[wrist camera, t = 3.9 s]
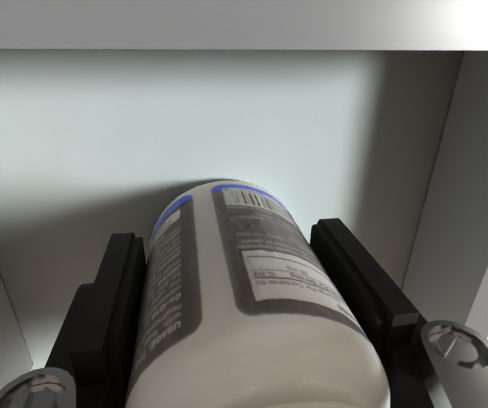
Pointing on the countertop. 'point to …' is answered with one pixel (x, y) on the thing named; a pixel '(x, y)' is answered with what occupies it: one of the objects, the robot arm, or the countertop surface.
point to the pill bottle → (245, 313)
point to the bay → (313, 38)
